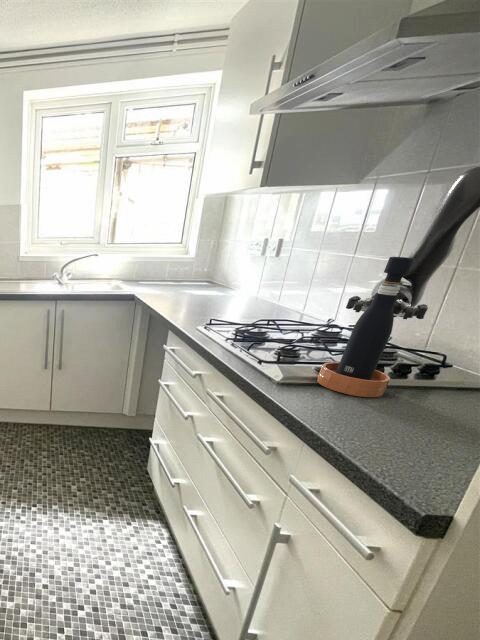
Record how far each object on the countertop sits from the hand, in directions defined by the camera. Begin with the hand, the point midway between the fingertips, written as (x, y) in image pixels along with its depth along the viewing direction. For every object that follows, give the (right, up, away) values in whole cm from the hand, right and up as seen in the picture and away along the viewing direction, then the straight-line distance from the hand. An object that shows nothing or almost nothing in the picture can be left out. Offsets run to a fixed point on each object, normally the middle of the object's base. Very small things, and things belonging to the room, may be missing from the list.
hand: (381, 311), depth 99 cm
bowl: (-7, -18, +1) cm, 20 cm away
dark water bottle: (-7, -18, +1) cm, 19 cm away
